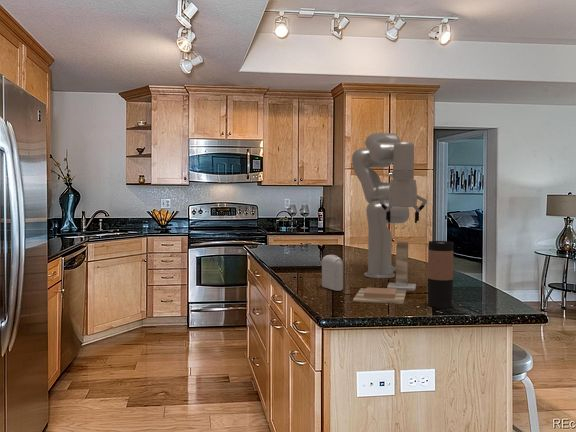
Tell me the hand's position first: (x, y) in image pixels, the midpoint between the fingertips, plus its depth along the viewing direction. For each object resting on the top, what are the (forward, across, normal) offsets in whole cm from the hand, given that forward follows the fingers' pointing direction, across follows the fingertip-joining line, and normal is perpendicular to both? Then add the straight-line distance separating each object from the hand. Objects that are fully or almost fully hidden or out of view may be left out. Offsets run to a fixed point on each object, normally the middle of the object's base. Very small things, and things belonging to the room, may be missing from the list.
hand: (402, 222), depth 197 cm
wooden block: (+23, 0, 0) cm, 23 cm away
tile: (+23, -6, -20) cm, 31 cm away
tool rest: (+24, 0, 0) cm, 24 cm away
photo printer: (+24, -24, -9) cm, 36 cm away
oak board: (+24, -6, -19) cm, 31 cm away
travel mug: (+24, +13, -28) cm, 40 cm away
